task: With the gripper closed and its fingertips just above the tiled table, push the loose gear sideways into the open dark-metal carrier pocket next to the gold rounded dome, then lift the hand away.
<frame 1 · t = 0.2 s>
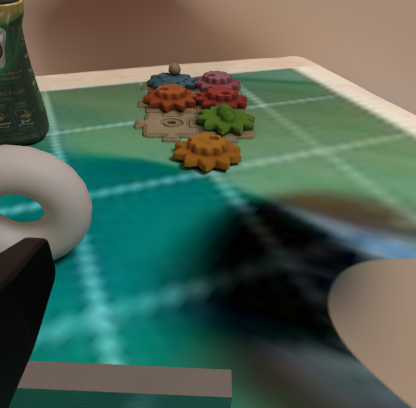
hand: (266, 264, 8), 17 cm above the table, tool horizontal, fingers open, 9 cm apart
donut: (34, 262, 31), on the table
gear puzzle: (194, 122, 56), on the table
coffee jar: (8, 137, 48), on the table
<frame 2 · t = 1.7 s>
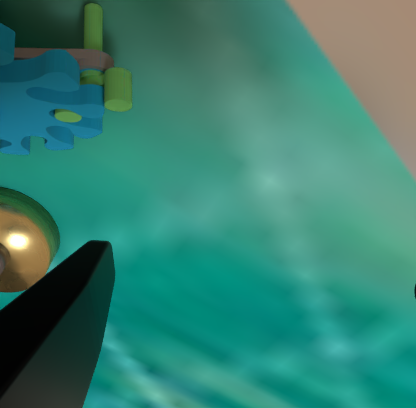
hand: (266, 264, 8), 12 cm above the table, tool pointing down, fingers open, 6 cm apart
gold rounded dome: (8, 230, 23), on the table
gear: (28, 71, 18), on the table
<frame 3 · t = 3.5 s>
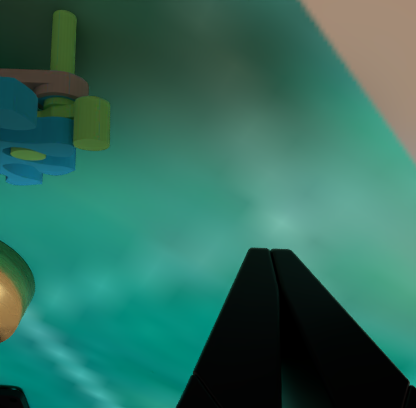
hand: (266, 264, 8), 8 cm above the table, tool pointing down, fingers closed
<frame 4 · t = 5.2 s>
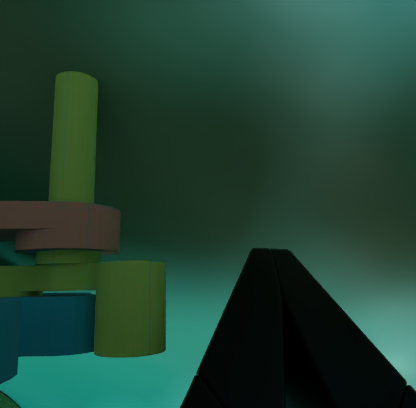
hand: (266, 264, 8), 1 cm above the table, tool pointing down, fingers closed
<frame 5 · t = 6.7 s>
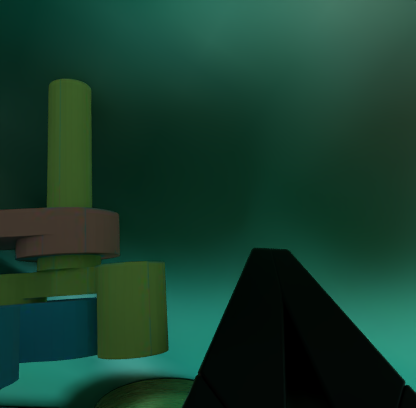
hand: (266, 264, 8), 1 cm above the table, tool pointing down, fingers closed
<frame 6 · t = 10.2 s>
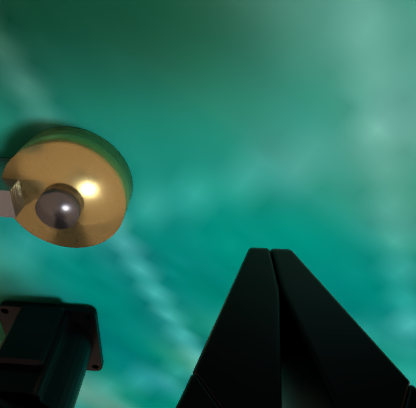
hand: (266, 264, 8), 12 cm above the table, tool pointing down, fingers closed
gold rounded dome: (76, 179, 21), on the table
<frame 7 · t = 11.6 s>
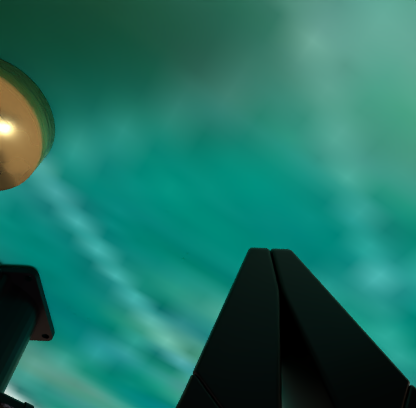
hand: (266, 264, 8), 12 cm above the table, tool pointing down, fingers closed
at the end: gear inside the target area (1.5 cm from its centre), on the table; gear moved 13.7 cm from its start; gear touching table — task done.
